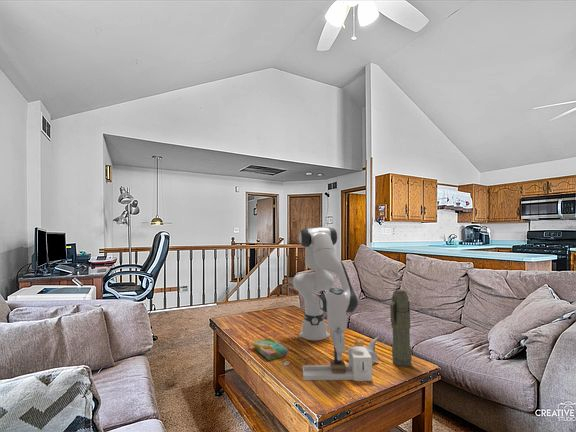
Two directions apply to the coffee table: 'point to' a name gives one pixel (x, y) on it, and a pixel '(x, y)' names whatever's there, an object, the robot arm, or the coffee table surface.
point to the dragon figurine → (371, 349)
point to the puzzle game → (270, 348)
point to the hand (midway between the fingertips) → (337, 355)
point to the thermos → (401, 329)
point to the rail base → (354, 371)
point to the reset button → (359, 342)
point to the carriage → (337, 364)
